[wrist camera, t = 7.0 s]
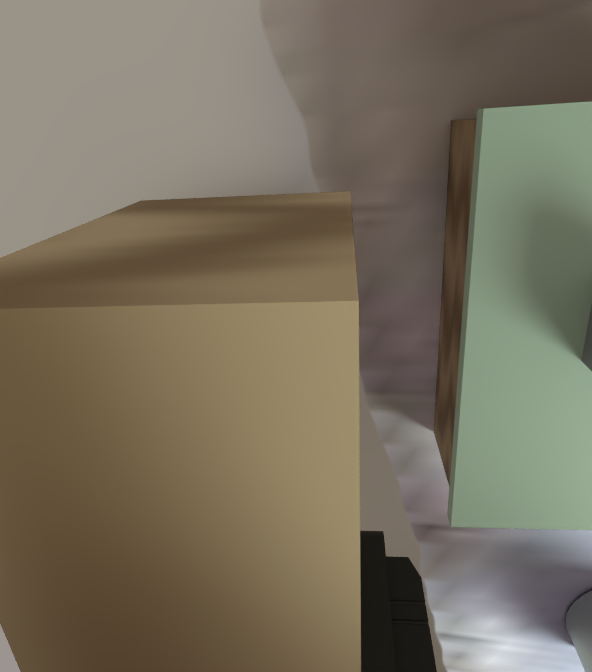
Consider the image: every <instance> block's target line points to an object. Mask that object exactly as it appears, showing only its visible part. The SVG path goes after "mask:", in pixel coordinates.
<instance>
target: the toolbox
mask: <svg viewBox="0 0 592 672" xmlns="http://www.w3.org/2000/svg"><path fill="white" fill-rule="evenodd" d="M476 121H477V119H468V120H453V121H451V135H450V153H449V171H448V189H447V207H446V225H445V243H444V261H443V279H442V297H441V315H440V333H439V351H438V369H437V387H436V405H435V423H434V434H435V437H436V441H437V444H438V448H439V452H440V455H441V459H442V462H443V466H444V469H445V473H446V476H447V480H448V483H449V487H450V474H451V461H452V447H453V433H454V420H455V406H456V393H457V379H458V366H459V352H460V338H461V325H462V311H463V298H464V284H465V271H466V257H467V243H468V230H469V216H470V203H471V189H472V176H473V162H474V148H475V135H476Z"/></svg>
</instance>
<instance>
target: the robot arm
mask: <svg viewBox="0 0 592 672" xmlns="http://www.w3.org/2000/svg"><path fill="white" fill-rule="evenodd" d="M360 583H361V672H437V671H436V665H435V659H434V653H433V646H432V640H431V634H430V628H429V625H428V617H427V611H426V606H425V599H424V592H423V586H422V580H421V577H420V575H419V574H418V572H417V570H416V569H415V567H414V566H413V564H412V563H411V561H410V560H409V558H408V557H386V554H385V543H384V534H383V532H382V531H360ZM565 622H566V628H567V630H568V633H569V635H570V637H571V640H572V642H573V644H574V647H575V649H576V651H577V654H578V656H579V658H580V660H581V663H582V665H583V667H584V670H585V672H592V590H591V591H589V592H587V593H585V594H584V595H582V596H581V597H580V598H578V599H577V600H576V601H575V602H574V603H573V604H572V605H571V606H570V608H569V610H568V612H567V615H566V620H565Z"/></svg>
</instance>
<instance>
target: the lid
mask: <svg viewBox="0 0 592 672" xmlns="http://www.w3.org/2000/svg"><path fill="white" fill-rule="evenodd" d="M448 518H449V521H450V525H451V527H467V528H514V529H561V530H592V101H590V102H575V103H560V104H545V105H530V106H515V107H500V108H485V109H477V121H476V135H475V148H474V162H473V176H472V189H471V203H470V216H469V230H468V243H467V257H466V271H465V284H464V298H463V311H462V325H461V338H460V352H459V366H458V379H457V393H456V406H455V420H454V433H453V447H452V461H451V474H450V488H449V501H448Z"/></svg>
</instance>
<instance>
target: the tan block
mask: <svg viewBox="0 0 592 672" xmlns="http://www.w3.org/2000/svg"><path fill="white" fill-rule="evenodd" d="M359 420H360V418H359V297H358V284H357V271H356V258H355V245H354V232H353V219H352V206H351V193H350V191H345V192H323V193H302V194H281V195H280V194H279V195H257V196H235V197H213V198H191V199H170V200H147V201H139V202H137V203H134V204H132V205H129V206H127V207H124V208H122V209H120V210H117V211H115V212H112V213H110V214H107V215H105V216H102V217H100V218H97V219H95V220H93V221H90V222H88V223H86V224H83V225H80V226H78V227H76V228H73V229H70V230H68V231H66V232H63V233H61V234H58V235H56V236H53V237H51V238H48V239H46V240H44V241H41V242H39V243H36V244H34V245H31V246H29V247H27V248H24V249H21V250H19V251H16V252H14V253H12V254H9V255H7V256H4V257H2V258H0V624H1V626H2V628H3V631H4V633H5V636H6V638H7V640H8V643H9V645H10V647H11V649H12V652H13V654H14V657H15V659H16V662H17V664H18V666H19V669H20V671H21V672H361V583H360V426H359V425H360V423H359V422H360V421H359Z"/></svg>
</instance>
